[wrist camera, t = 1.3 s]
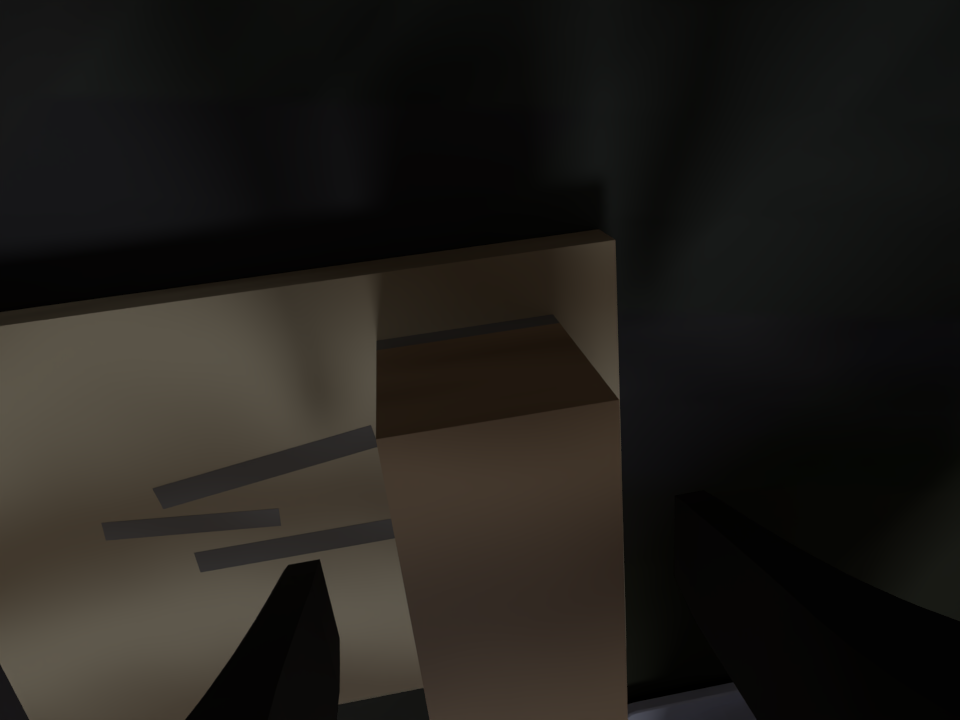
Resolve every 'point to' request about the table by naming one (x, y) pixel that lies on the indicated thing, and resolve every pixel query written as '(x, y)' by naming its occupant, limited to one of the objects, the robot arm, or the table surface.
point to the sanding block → (507, 520)
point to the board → (231, 464)
